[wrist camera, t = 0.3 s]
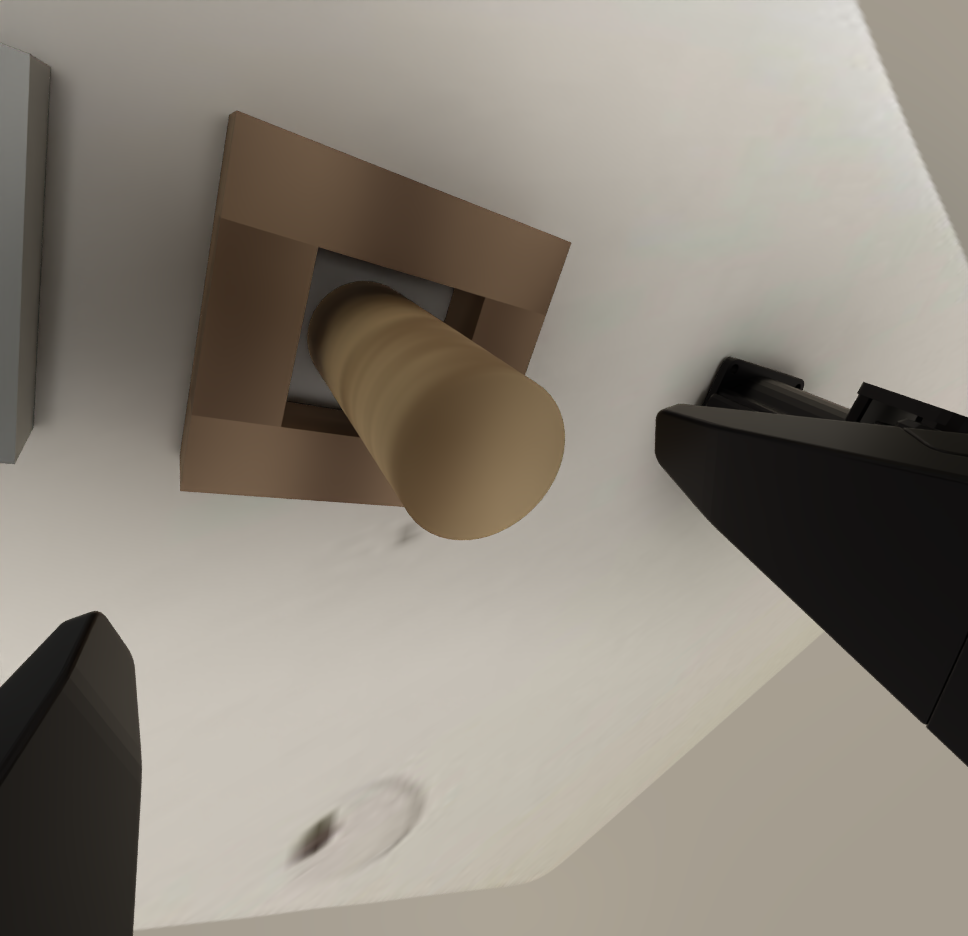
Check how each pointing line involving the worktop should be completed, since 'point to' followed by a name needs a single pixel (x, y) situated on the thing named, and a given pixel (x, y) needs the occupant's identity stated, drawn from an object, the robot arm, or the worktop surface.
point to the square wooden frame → (284, 292)
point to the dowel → (437, 411)
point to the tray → (20, 238)
